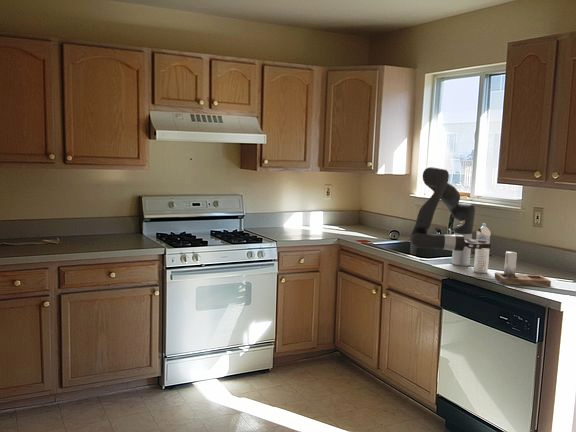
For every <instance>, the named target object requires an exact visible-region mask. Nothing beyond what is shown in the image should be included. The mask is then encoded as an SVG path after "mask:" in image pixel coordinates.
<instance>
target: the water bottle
mask: <svg viewBox="0 0 576 432" xmlns="http://www.w3.org/2000/svg"><path fill="white" fill-rule="evenodd" d="M481 224H482V225H481V226H480V227H479V228H478V229H477V230H476V235H475V236H476V239H475V240H477V241H486V244H491V243H490V241H491V234H492V233H491V230H490V229H489V228H488V227H487V223H481ZM478 247H479V245H478ZM489 259H490V249H488V248H482V249H474V259H473V261H474V262H473V272H474V273H477V274H487V273H488V271H489V261H490V260H489Z"/></svg>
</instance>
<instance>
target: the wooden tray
mask: <svg viewBox="0 0 576 432" xmlns="http://www.w3.org/2000/svg"><path fill="white" fill-rule="evenodd" d="M494 279H495V280H497V281H498V282H499V283H501V284H504V285H517V286H519V285H520V286H535V287H536V286H537V287H538V286H539V287H551V285H552V284H551V283H552V281H551V280H550V279H549V278H547V277H545V276H543V275H540V274H523V273H515V278H508V277H504V272H494Z"/></svg>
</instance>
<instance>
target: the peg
mask: <svg viewBox="0 0 576 432" xmlns="http://www.w3.org/2000/svg"><path fill="white" fill-rule="evenodd" d="M517 255H518V252H515V251H508V250H507V251H505V258H504V270H503V273H504V277H508V278H515V274H516V269H517V258H518V256H517Z"/></svg>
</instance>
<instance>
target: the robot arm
mask: <svg viewBox="0 0 576 432" xmlns="http://www.w3.org/2000/svg"><path fill="white" fill-rule="evenodd" d="M449 178H450V175H449V171H448V170H447V169H444V168H439V167H433V166H431V167H426V168H425V169H424V170H423V172H422V180H423V183H424V185H426V186H427V187H428V188H429V189H430V190H431V191H433V194H432V195H431V196H430V197H429V198H428V199H427V200H426V202H425V203H424V204H423V205H422V206H421V207H420V209H419V211H418V213H417V217H416V221H415V225H414V227H413V230H412V232H411V235H410V239H409V241H410V244H411V246H412V247H414V248H417V249H435V250H446V251H452V253H451V254H452V256H451V264H452V265H455V266H461V267H462V266H463V267H468V266H470V265H471V264H470V262H471V252H472V251H471V250H472V249H474V250H475V249H482V248H488V249H489V250H490V249H491V247H492V246H491V243H490V244H486V241H477V240H476V239H473V236H472V235H473V229H474V221H475V213H476V207H475V205H474V204H472V203H468V202H467V203H466V202H465V203H464V202H460V200H461V194H460V192H459V191H458V190H457V188H456V187H455V186H454V185H452V184H451V183H449ZM440 201H441V202H442V203H443V204H444V205H445V207H446V208H447V209H448V210H449V212H450V214H451V216H452V217H453V218H454V220H458V221H464V223H463V224H460V225H457V226H455V227H454V228H453V229H454V231H453V234H439V233H437V234H435V233H434V234H431V233H428V231H429V229H430V227H431V224H432V221H433V218H434V214H435V211H436V209H437V206H438V205H439V203H440ZM478 245H479V247H478Z"/></svg>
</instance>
